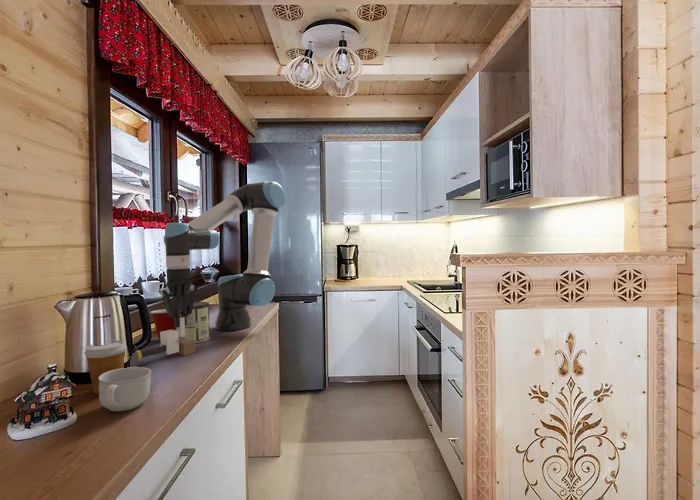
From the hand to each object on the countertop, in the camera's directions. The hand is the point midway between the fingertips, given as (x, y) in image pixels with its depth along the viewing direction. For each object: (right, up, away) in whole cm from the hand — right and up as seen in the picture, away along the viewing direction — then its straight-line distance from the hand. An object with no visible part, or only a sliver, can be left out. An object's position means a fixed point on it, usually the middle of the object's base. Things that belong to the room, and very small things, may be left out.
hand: (181, 335), depth 131 cm
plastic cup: (-14, -6, +20) cm, 25 cm away
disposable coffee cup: (-6, -8, -30) cm, 32 cm away
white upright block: (-2, -5, -3) cm, 6 cm away
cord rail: (-5, -7, -6) cm, 10 cm away
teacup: (+5, -8, -42) cm, 43 cm away
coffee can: (-2, -6, +18) cm, 19 cm away
